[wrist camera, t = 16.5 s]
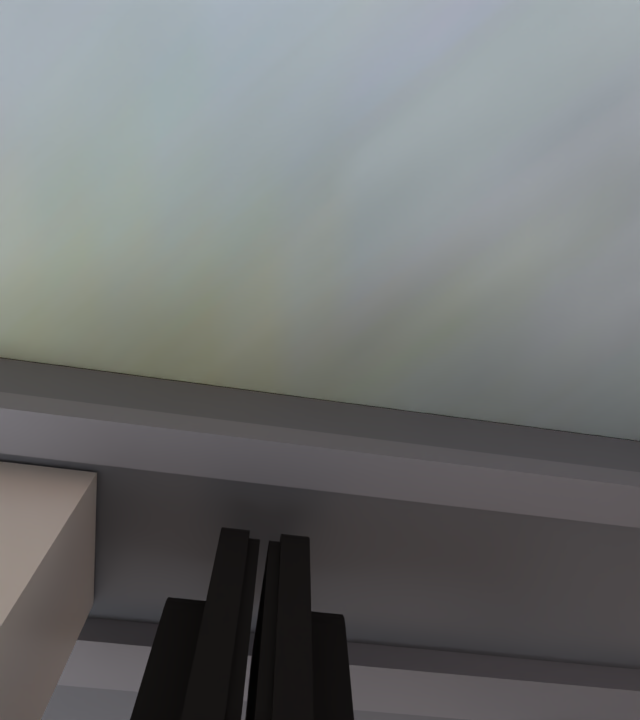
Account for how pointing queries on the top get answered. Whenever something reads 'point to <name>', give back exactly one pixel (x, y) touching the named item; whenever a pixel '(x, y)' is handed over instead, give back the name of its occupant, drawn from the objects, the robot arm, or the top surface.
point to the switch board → (352, 540)
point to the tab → (42, 579)
